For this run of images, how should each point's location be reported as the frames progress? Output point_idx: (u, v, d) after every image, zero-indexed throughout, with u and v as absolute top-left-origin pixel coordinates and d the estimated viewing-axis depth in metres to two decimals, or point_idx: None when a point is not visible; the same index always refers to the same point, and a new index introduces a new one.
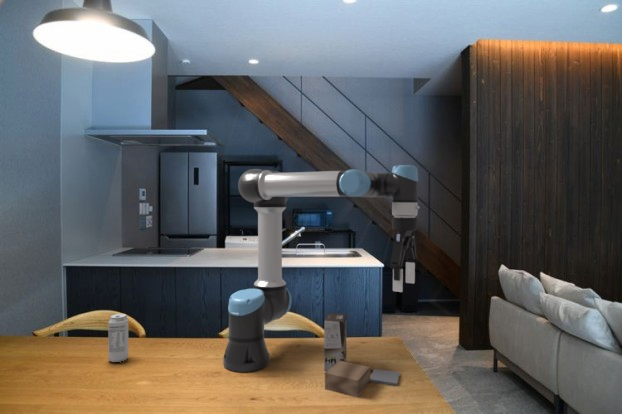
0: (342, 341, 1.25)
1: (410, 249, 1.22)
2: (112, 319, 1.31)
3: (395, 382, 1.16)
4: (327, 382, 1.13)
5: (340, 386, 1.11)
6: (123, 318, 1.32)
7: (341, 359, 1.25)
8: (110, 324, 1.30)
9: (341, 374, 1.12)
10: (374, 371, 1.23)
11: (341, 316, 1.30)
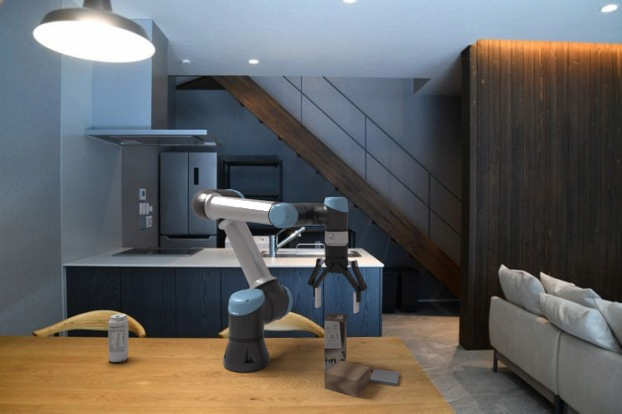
0: (342, 341, 1.25)
1: None
2: (112, 319, 1.31)
3: (395, 382, 1.16)
4: (326, 381, 1.13)
5: (339, 385, 1.11)
6: (123, 318, 1.32)
7: (341, 359, 1.25)
8: (110, 324, 1.30)
9: (340, 374, 1.12)
10: (374, 371, 1.23)
11: (341, 316, 1.30)
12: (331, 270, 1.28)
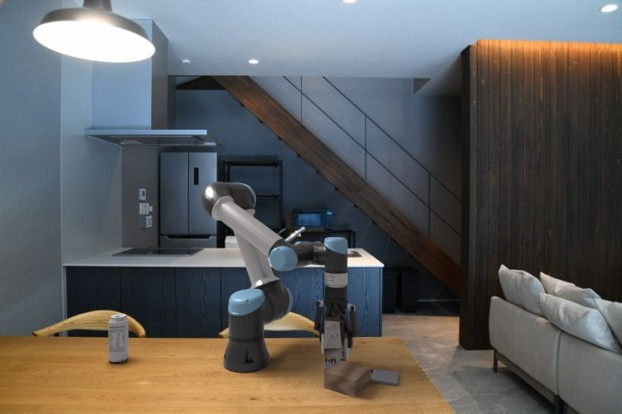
0: (342, 341, 1.25)
1: None
2: (112, 319, 1.31)
3: (395, 382, 1.16)
4: (326, 381, 1.14)
5: (338, 385, 1.11)
6: (123, 318, 1.32)
7: (341, 359, 1.25)
8: (110, 324, 1.30)
9: (340, 374, 1.12)
10: (374, 371, 1.23)
11: None
12: (330, 311, 1.29)
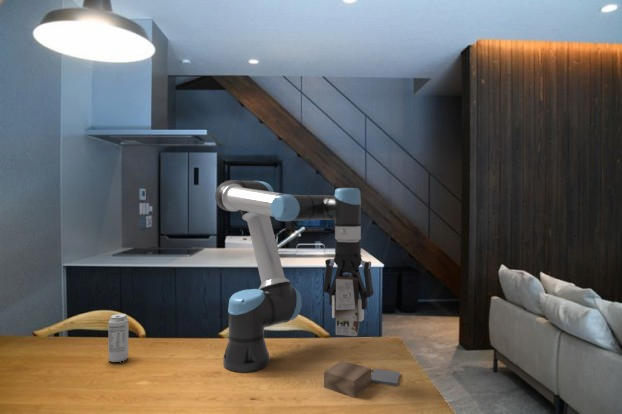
0: (356, 301, 1.12)
1: None
2: (112, 319, 1.31)
3: (395, 382, 1.16)
4: (326, 380, 1.14)
5: (337, 385, 1.12)
6: (123, 318, 1.32)
7: (355, 321, 1.12)
8: (110, 324, 1.30)
9: (339, 374, 1.12)
10: (374, 371, 1.23)
11: None
12: (342, 269, 1.16)
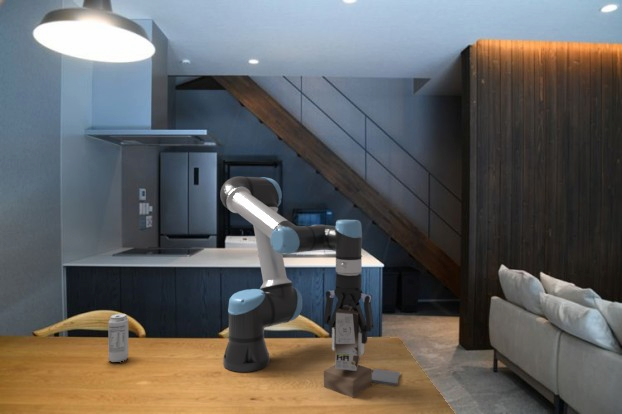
0: (356, 336, 1.10)
1: None
2: (112, 319, 1.31)
3: (395, 382, 1.16)
4: (325, 380, 1.14)
5: (337, 385, 1.12)
6: (123, 318, 1.32)
7: (355, 356, 1.10)
8: (110, 324, 1.30)
9: (339, 374, 1.13)
10: (374, 371, 1.23)
11: None
12: (342, 302, 1.15)
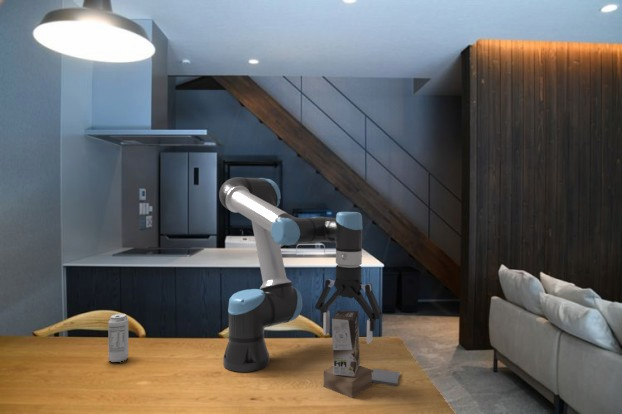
0: (352, 342, 1.10)
1: None
2: (112, 319, 1.31)
3: (395, 382, 1.16)
4: (325, 380, 1.14)
5: (336, 385, 1.12)
6: (123, 318, 1.32)
7: (352, 362, 1.10)
8: (110, 324, 1.30)
9: None
10: (374, 371, 1.23)
11: (351, 313, 1.16)
12: (342, 294, 1.15)
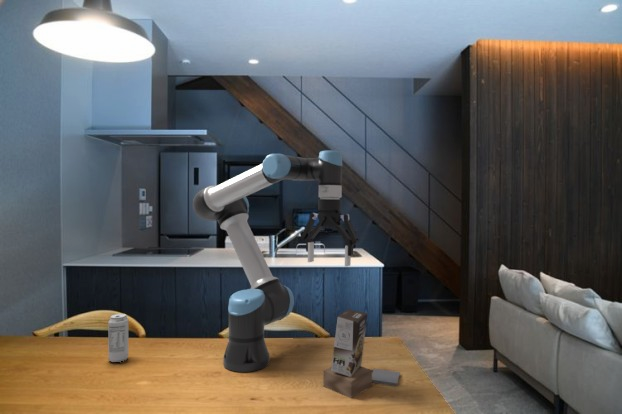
0: (354, 343, 1.10)
1: None
2: (112, 319, 1.31)
3: (395, 382, 1.16)
4: (325, 380, 1.14)
5: (336, 385, 1.12)
6: (123, 318, 1.32)
7: (350, 362, 1.10)
8: (110, 324, 1.30)
9: (338, 374, 1.13)
10: (374, 371, 1.23)
11: (359, 315, 1.15)
12: (324, 224, 1.29)
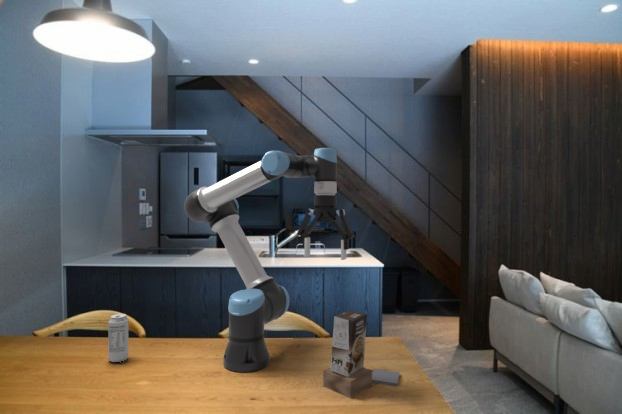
0: (350, 342, 1.10)
1: None
2: (112, 319, 1.31)
3: (395, 382, 1.16)
4: (325, 380, 1.15)
5: (336, 385, 1.12)
6: (123, 318, 1.32)
7: (348, 362, 1.11)
8: (110, 324, 1.30)
9: (338, 374, 1.13)
10: (374, 371, 1.23)
11: (357, 315, 1.15)
12: (320, 219, 1.32)
